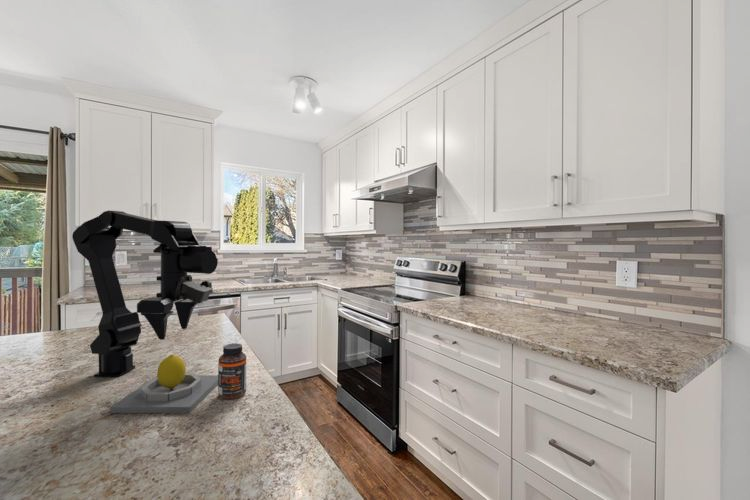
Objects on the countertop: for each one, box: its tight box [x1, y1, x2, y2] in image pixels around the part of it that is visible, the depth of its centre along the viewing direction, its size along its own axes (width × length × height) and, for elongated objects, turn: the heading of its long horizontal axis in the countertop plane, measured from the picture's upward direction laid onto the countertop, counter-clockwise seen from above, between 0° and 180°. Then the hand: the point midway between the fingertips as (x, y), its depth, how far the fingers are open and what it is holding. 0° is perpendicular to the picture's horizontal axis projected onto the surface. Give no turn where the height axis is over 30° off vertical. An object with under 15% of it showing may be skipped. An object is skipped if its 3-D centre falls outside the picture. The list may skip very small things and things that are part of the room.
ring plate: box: [109, 372, 218, 414], centre depth 77 cm, size 16×16×3 cm
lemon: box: [156, 354, 187, 390], centre depth 77 cm, size 6×6×8 cm
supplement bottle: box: [217, 342, 247, 401], centre depth 77 cm, size 6×6×11 cm
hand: (173, 333), depth 85 cm, fingers open, 9 cm apart
